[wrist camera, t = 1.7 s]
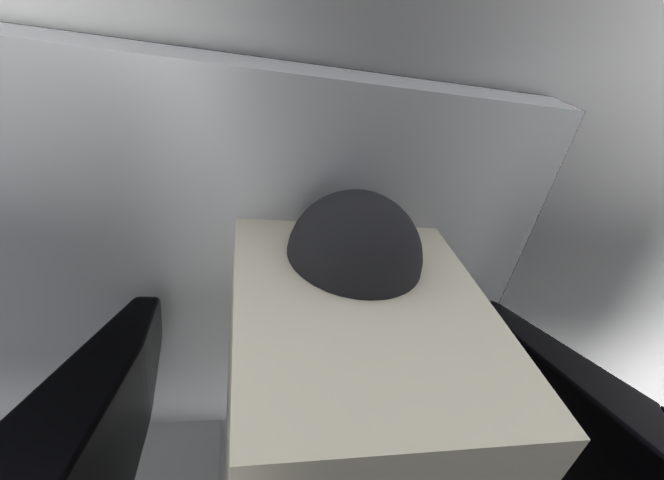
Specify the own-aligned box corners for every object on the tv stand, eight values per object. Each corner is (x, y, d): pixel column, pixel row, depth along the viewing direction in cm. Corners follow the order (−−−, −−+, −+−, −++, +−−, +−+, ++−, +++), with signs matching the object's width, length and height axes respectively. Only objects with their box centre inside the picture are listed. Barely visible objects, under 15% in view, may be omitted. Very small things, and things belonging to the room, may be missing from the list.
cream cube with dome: (352, 489, 13) (396, 700, 9) (221, 501, 12) (212, 739, 8) (453, 175, 8) (644, 369, 4) (238, 157, 7) (235, 381, 3)
